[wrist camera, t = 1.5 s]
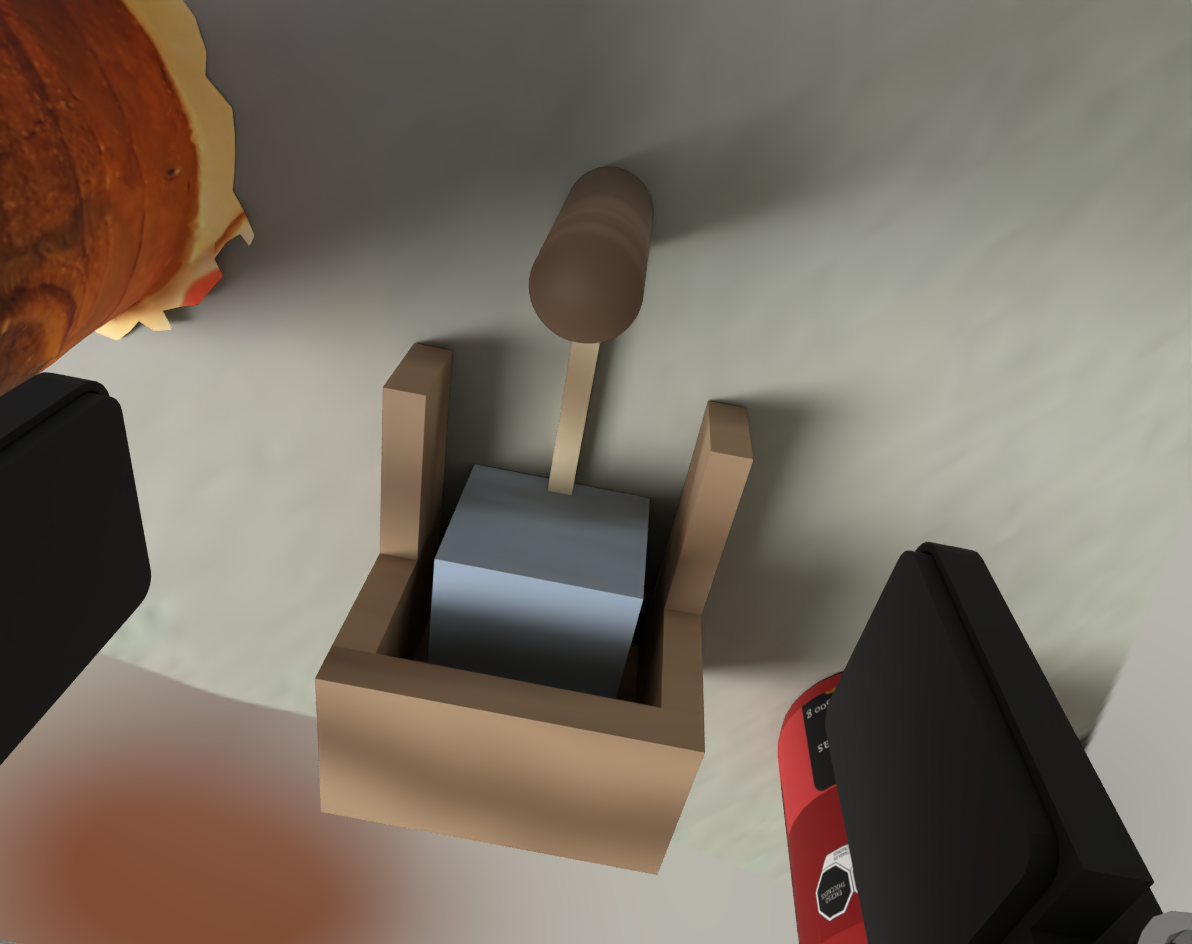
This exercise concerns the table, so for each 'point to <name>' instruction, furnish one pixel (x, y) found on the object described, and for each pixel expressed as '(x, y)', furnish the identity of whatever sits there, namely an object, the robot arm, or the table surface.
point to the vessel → (106, 174)
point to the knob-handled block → (556, 484)
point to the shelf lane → (509, 707)
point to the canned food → (817, 826)
